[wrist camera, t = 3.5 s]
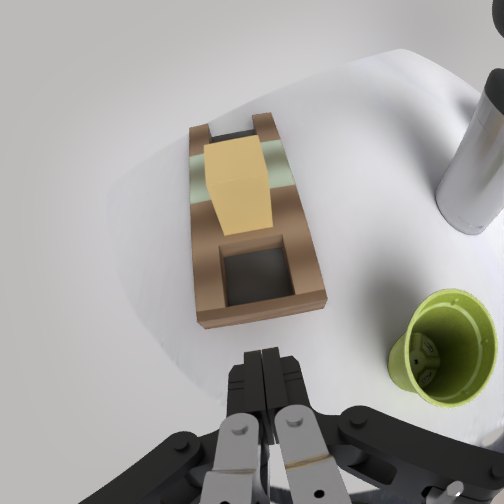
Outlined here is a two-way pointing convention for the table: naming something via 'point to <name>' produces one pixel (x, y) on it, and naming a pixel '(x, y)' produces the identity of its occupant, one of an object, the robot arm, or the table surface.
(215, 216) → the box
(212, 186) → the ochre block
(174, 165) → the table surface
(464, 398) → the plant pot
